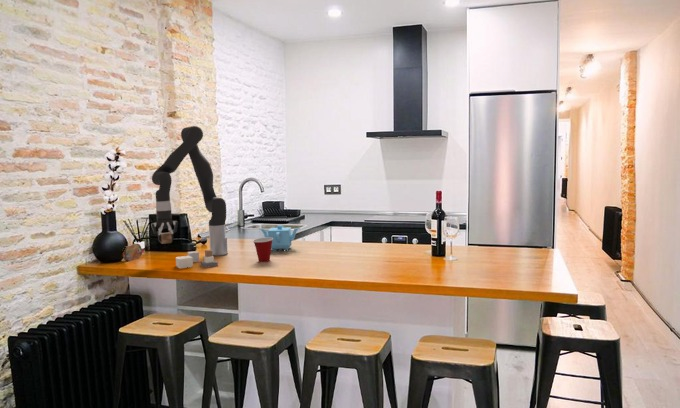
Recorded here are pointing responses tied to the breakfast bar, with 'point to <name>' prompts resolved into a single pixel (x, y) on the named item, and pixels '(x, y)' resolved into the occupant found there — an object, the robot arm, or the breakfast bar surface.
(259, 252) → the plastic cup
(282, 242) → the teakettle
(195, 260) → the grey cube
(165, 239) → the walnut cube
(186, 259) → the base block
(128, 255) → the stone slab
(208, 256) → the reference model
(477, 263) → the breakfast bar surface
